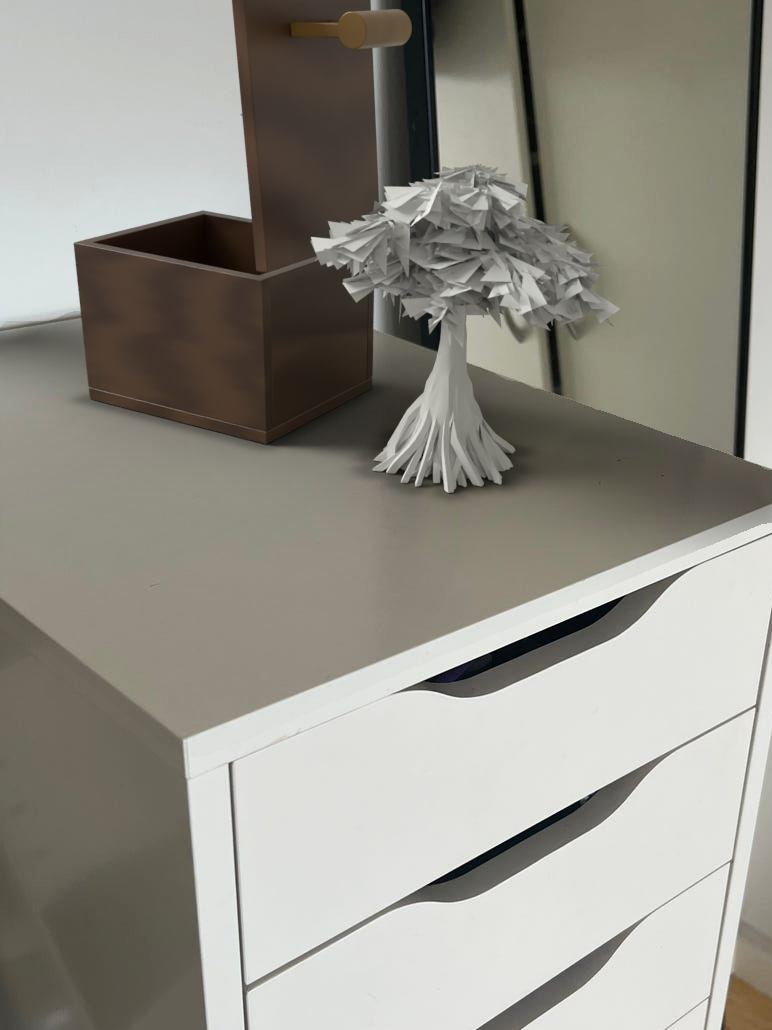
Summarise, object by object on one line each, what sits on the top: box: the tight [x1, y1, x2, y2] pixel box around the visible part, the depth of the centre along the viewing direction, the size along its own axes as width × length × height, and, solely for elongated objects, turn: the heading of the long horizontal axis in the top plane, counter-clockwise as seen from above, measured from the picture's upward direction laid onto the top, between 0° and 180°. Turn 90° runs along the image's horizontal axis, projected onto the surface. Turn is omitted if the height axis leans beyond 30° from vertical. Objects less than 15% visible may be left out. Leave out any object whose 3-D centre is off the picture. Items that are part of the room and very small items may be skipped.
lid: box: [231, 0, 413, 272], centre depth 69 cm, size 14×13×6 cm
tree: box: [310, 163, 621, 494], centre depth 68 cm, size 18×16×17 cm
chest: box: [73, 209, 375, 445], centre depth 78 cm, size 14×13×10 cm
